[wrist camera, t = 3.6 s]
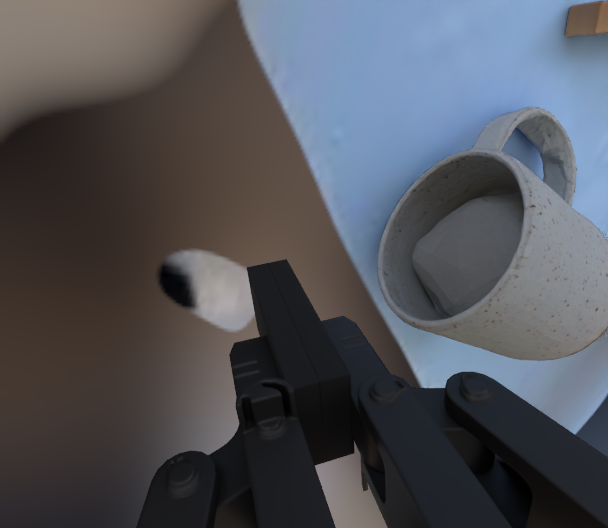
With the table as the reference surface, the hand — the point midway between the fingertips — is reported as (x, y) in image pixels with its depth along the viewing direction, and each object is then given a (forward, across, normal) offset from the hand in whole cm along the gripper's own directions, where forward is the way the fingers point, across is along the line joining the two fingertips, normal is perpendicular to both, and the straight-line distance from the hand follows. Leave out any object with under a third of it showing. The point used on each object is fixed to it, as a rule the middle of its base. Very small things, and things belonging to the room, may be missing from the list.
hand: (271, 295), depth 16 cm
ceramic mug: (+4, +11, 0) cm, 12 cm away
